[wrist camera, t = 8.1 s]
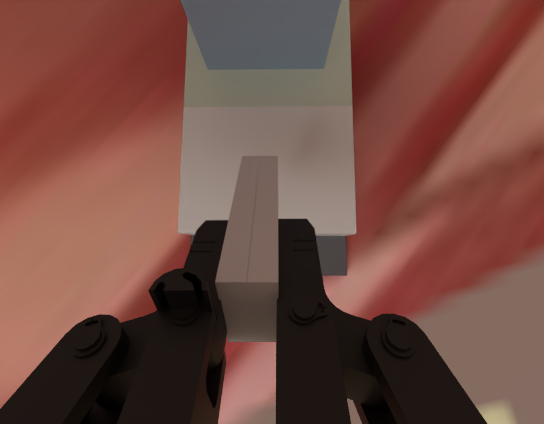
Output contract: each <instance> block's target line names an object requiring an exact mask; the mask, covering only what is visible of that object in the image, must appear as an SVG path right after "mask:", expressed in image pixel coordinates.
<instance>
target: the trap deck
mask: <svg viewBox="0 0 544 424" xmlns="http://www.w3.org/2000/svg"><path fill="white" fill-rule="evenodd" d="M242 156H278V219H308V221H309V222H310V223H311V224H312V226H313V227H314V228H315V234H316V242H317V247H318V253H319V259H320V266H321V272H322V275H345V276H347V260H346V236H347V235H353V234H356V205H355V173H354V140H353V108H352V76H351V43H350V11H349V0H341V2H340V6H339V10H338V14H337V18H336V22H335V26H334V30H333V34H332V38H331V42H330V46H329V50H328V54H327V58H326V62H325V66H324V69H237V70H208V69H207V66H206V64H205V61H204V59H203V56H202V54H201V51H200V49H199V46H198V44H197V41H196V39H195V36H194V34H193V31H192V29H191V26H190V24H189V21H188V29H187V50H186V70H185V91H184V111H183V132H182V152H181V173H180V193H179V214H178V233H182V234H188V235H191V245H192V244H193V239H194V236H195V233H196V230H197V229H198V228H199V227H200V226H201V225H202V224H203V223H204V222H205V221H206V220H229V215H230V210H231V206H232V201H233V196H234V192H235V187H236V182H237V178H238V173H239V168H240V164H241V159H242Z"/></svg>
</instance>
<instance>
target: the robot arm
mask: <svg viewBox="0 0 544 424" xmlns="http://www.w3.org/2000/svg"><path fill="white" fill-rule="evenodd" d="M149 293H150V295H151V297H152V299H153V301H154V304H155V306H156V308H157V311H155V312H154V313H151V314H149V315H146V316H143V317H139V318H136V319H133V320H129V321H126V322H122V323H120V322H119V320H118V319H117V318H115V317H113V316H111V315H96V316H93V317H89V318H87V319H85V320H83V321H82V322H80V323H78V324H76V325H75V326H74V327H73V328H72V329H71V330H70V331H69V332H67V333H66V334H65V335H64V337H63V338H62V339H61V340H60V341H59V342H58V343H57V345H56V346H55V347H54V348H53V349H52V350H51V352H50V353H49V354H48V355H47V356H46V357H45V358H44V360H43V361H42V362H41V363H40V364H39V365H38V366H37V368H36V369H35V370H34V371H33V372H32V373H31V374H30V376H29V377H28V378H27V379H26V380H25V381H24V383H23V384H22V385H21V386H20V387H19V388H18V389H17V391H16V392H15V393H14V394H13V395H12V396H11V397H10V399H9V400H8V401H7V402H6V403H5V404H4V406H3V407H2V408H1V409H0V424H218V418H219V410H220V403H221V396H222V388H223V381H224V374H225V366H226V355H225V351H224V349H225V342H226V335H227V338H228V342H276V424H351V421H350V415H349V409H348V403H347V398H348V399H351V400H353V402H354V404H355V407H356V409H357V412H358V414H359V417H360V419H361V422H362V424H487V423H486V421H485V420H484V418H483V417H482V415H481V414H480V412H479V411H478V410H477V408H476V407H475V405H474V404H473V402H472V401H471V400H470V398H469V397H468V395H467V394H466V392H465V391H464V389H463V388H462V386H461V385H460V384H459V382H458V381H457V379H456V378H455V376H454V375H453V373H452V372H451V371H450V369H449V368H448V366H447V365H446V363H445V362H444V360H443V359H442V358H441V356H440V355H439V353H438V352H437V350H436V349H435V347H434V346H433V345H432V343H431V342H430V340H429V339H428V337H427V336H426V334H425V333H424V332H423V331H422V330H421V329H420V328H419V327H418V326H417V325H416V324H415V323H414V322H412V321H410V320H409V319H407V318H406V317H403V316H399V315H396V314H381V315H379V316H377V317H375V318H373V319H372V321H370V320H366V319H363V318H360V317H356V316H353V315H350V314H348V313H345V312H343V311H341V310H340V309H338V308H337V307H335V306H334V305H333V304H332V303H331V302H330V300H329V299H328V297H327V295H326V293H325V290H324V285H323V278H322V272H321V266H320V259H319V253H318V247H317V242H316V234H315V228H314V227H313V226H312V224H311V223H310V222H309V221H308V219H278V156H242V159H241V164H240V168H239V173H238V178H237V182H236V187H235V192H234V196H233V201H232V206H231V210H230V215H229V220H206V221H205V222H204V223H203V224H202V225H201V226H200V227H199V228H198V229H197V230H196V233H195V236H194V239H193V244H192V245H191V248H190V251H189V254H188V256H187V259H186V262H185V265H184V268H181V269H174V270H172V271H170V272H167V273H165V274H163V275H162V276H161V277H159V278H158V279H157V280H156V281H155V282H154V283H153V285H152V286H151V288H150V289H149Z"/></svg>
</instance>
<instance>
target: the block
mask: <svg viewBox="0 0 544 424" xmlns="http://www.w3.org/2000/svg"><path fill="white" fill-rule="evenodd" d="M180 1H181V3H182V6H183V8H184V11H185V13H186V16H187V18H188V21H189V24H190V26H191V29H192V31H193V34H194V36H195V39H196V41H197V44H198V46H199V49H200V51H201V54H202V56H203V59H204V61H205V64H206V66H207V69H208V70H237V69H324V66H325V62H326V58H327V54H328V50H329V46H330V42H331V38H332V34H333V30H334V26H335V22H336V18H337V14H338V10H339V6H340V2H341V0H180Z"/></svg>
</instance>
